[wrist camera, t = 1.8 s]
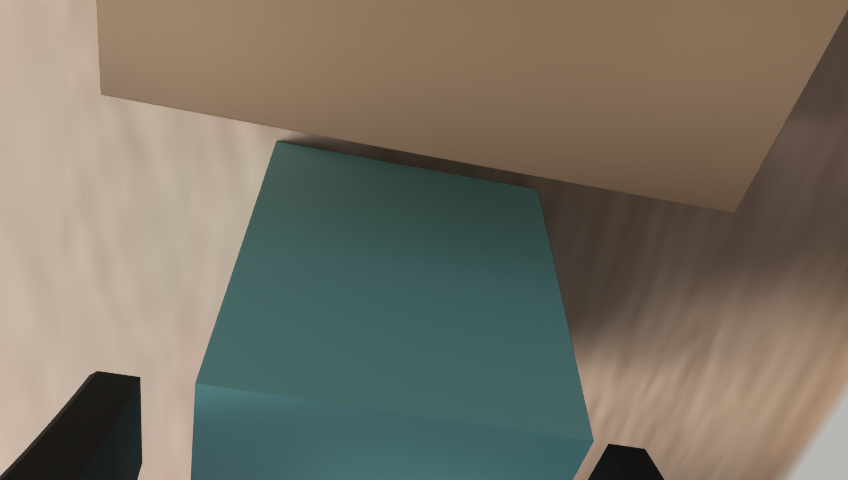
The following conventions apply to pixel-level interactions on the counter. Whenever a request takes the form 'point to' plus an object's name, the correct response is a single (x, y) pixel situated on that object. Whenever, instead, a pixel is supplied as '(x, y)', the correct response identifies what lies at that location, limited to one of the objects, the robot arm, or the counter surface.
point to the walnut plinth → (493, 79)
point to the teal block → (389, 333)
